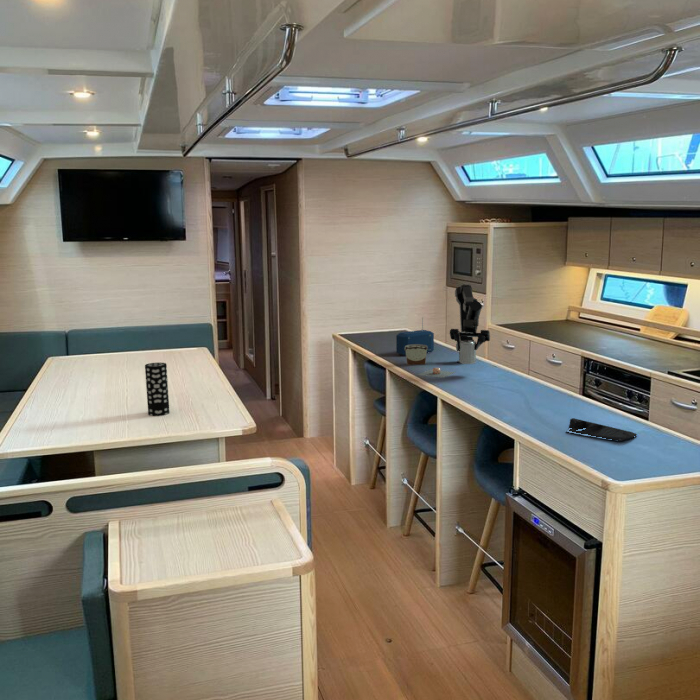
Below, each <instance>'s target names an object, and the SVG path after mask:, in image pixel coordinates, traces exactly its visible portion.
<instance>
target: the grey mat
mask: <svg viewBox="0 0 700 700" xmlns="http://www.w3.org/2000/svg"><path fill="white" fill-rule="evenodd" d="M455 373H456V371H448V370H440V374H433V369H428V370H426V371H423V372H420V373H418V374H417V376H424V377H429V378H430V377H431V378H440V379H444V378H447V377H449V376H451V375H454V374H455Z"/></svg>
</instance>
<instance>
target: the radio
mask: <svg viewBox="0 0 700 700" xmlns="http://www.w3.org/2000/svg"><path fill="white" fill-rule="evenodd" d="M421 321H422V322H421V326H422V328H421V329H419V330H411V331H402V332H398V333H397V334H396V338H395V339H396V341H395V342H396V349H395V350H396V353H397V354H398V355H400V354H401V355H400V356H404V355H405V356H404V357H406V351H405V350H404V348H405V346H406V345H411V344H421V345H426V346H427V347H428V350H427V354H429V353H428V352H431V353H432V352H433V351H434V350H435V349H434V348H435V347H434V345H435V344H434V343H435V339H434V338H435V333H434V332H433V331H430V330H427V329H426V330H425V329H424V316H422V317H421Z"/></svg>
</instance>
